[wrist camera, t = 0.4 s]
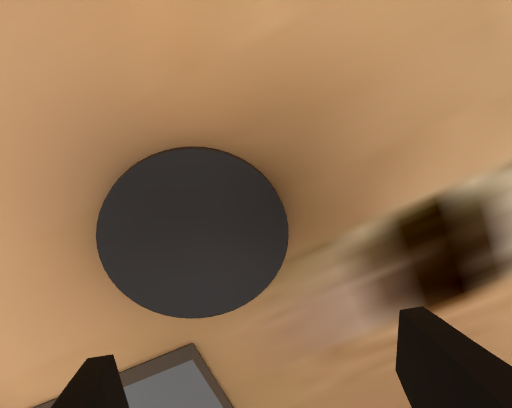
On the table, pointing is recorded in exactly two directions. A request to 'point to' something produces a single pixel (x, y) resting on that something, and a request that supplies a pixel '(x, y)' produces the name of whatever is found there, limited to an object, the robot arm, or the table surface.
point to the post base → (171, 383)
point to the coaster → (192, 232)
